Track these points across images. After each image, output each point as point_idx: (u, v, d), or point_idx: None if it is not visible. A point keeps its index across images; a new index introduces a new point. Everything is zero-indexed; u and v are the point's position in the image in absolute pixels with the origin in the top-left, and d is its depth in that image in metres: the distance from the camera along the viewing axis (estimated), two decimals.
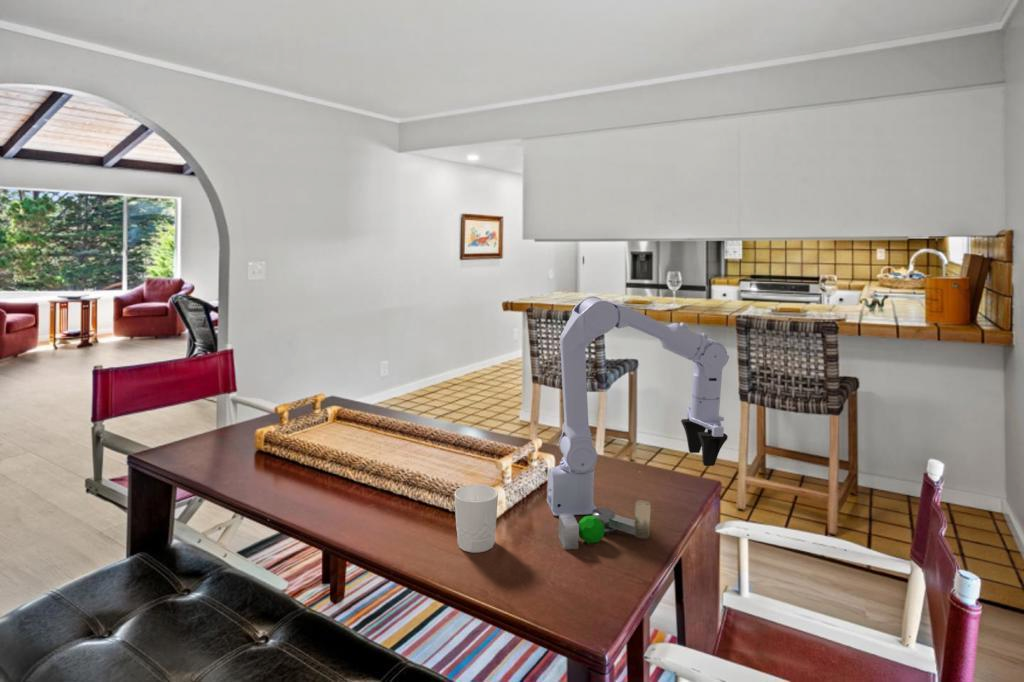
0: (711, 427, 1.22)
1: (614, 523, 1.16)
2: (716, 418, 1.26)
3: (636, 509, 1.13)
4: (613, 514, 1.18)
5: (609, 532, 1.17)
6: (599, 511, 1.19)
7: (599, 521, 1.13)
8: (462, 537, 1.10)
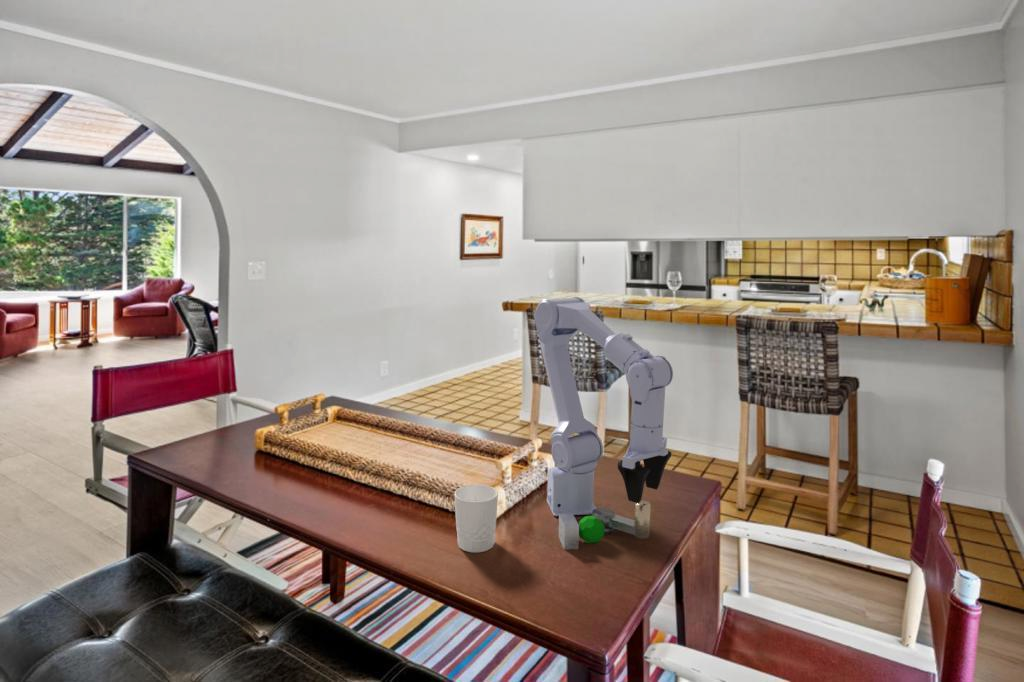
0: None
1: (614, 523, 1.16)
2: (648, 450, 1.09)
3: (636, 509, 1.13)
4: (613, 514, 1.18)
5: (609, 532, 1.17)
6: (599, 511, 1.19)
7: (599, 521, 1.13)
8: (462, 537, 1.10)
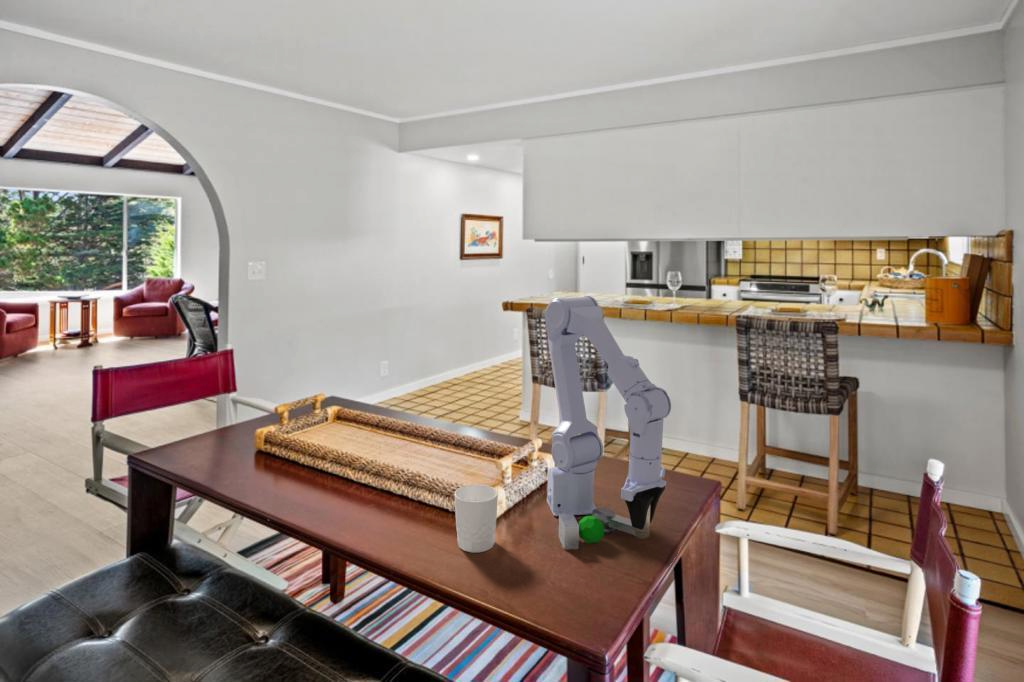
0: None
1: (614, 523, 1.16)
2: (647, 481, 1.10)
3: None
4: (613, 514, 1.18)
5: (609, 532, 1.17)
6: (599, 511, 1.19)
7: (599, 521, 1.13)
8: (462, 537, 1.10)
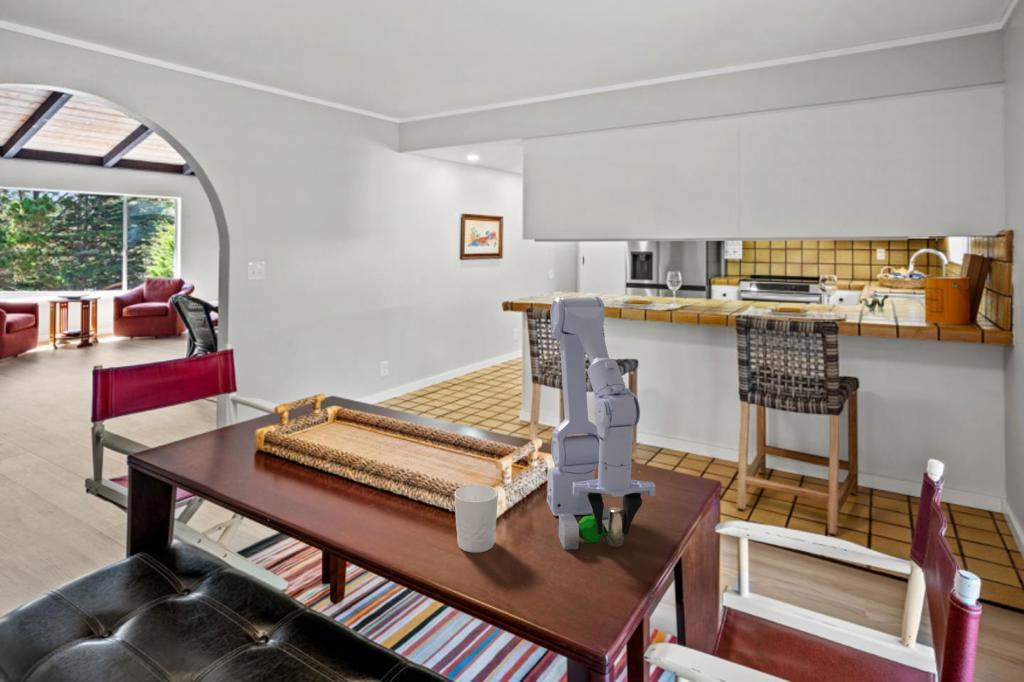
0: None
1: None
2: (602, 486, 1.08)
3: None
4: (609, 516, 1.17)
5: None
6: None
7: None
8: (462, 537, 1.10)
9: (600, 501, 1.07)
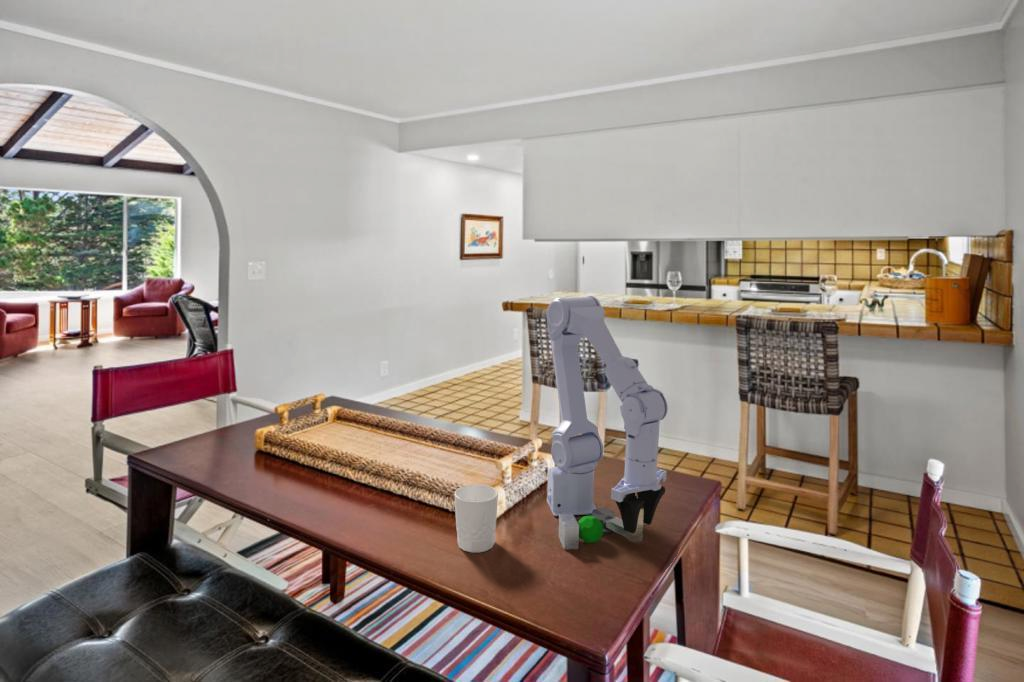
0: None
1: (610, 523, 1.16)
2: (640, 483, 1.09)
3: None
4: (612, 515, 1.18)
5: (609, 532, 1.17)
6: (600, 511, 1.19)
7: (598, 521, 1.13)
8: (462, 537, 1.10)
9: (639, 499, 1.08)
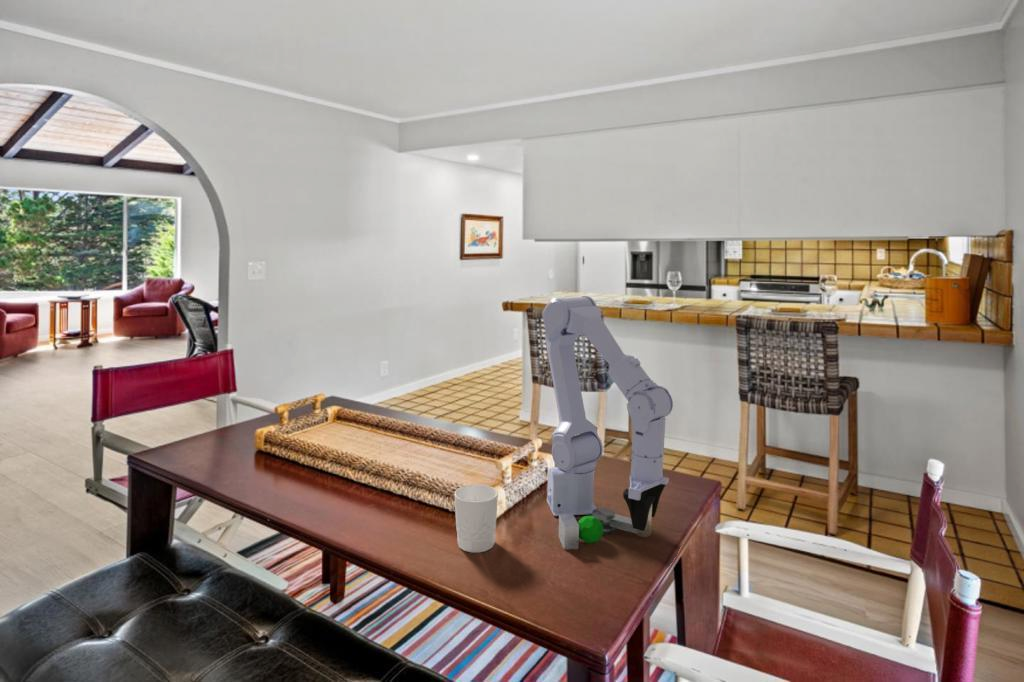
0: None
1: (616, 522, 1.16)
2: (651, 479, 1.11)
3: None
4: (613, 514, 1.18)
5: (609, 532, 1.17)
6: (599, 511, 1.19)
7: (598, 521, 1.13)
8: (462, 537, 1.10)
9: (651, 496, 1.10)
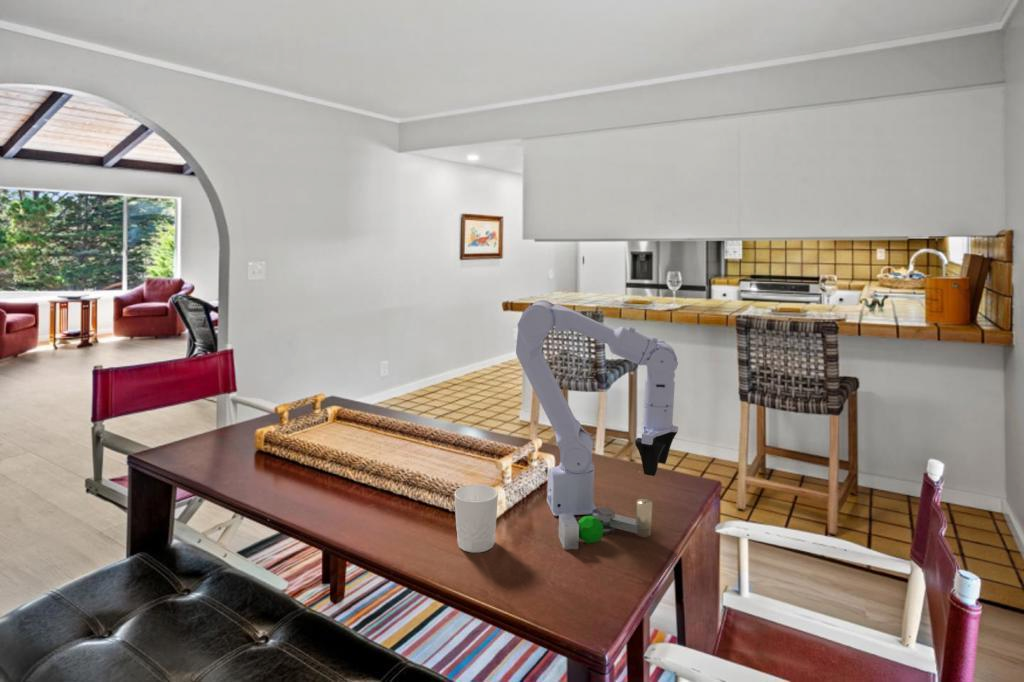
0: None
1: (616, 522, 1.16)
2: (662, 427, 1.20)
3: (638, 508, 1.13)
4: (613, 514, 1.18)
5: (609, 532, 1.17)
6: (599, 511, 1.19)
7: (598, 521, 1.13)
8: (462, 537, 1.10)
9: (661, 443, 1.18)
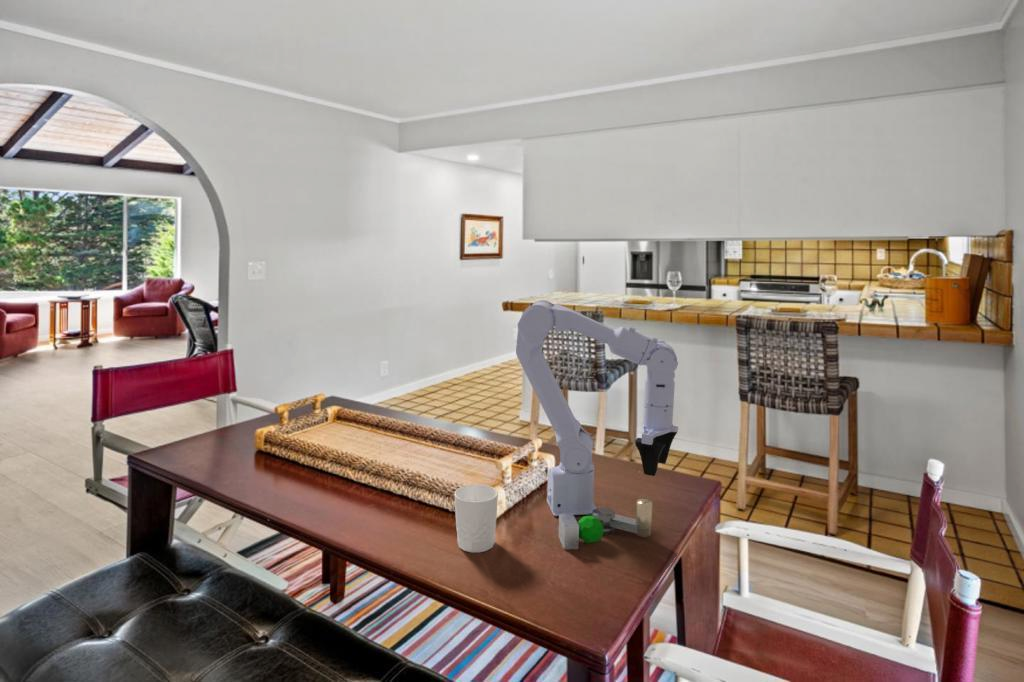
0: None
1: (616, 522, 1.16)
2: (662, 427, 1.20)
3: (638, 508, 1.13)
4: (613, 514, 1.18)
5: (609, 532, 1.17)
6: (599, 511, 1.19)
7: (598, 521, 1.13)
8: (462, 537, 1.10)
9: (661, 443, 1.18)
